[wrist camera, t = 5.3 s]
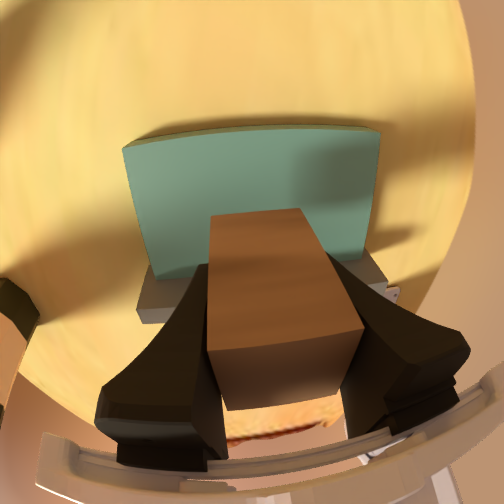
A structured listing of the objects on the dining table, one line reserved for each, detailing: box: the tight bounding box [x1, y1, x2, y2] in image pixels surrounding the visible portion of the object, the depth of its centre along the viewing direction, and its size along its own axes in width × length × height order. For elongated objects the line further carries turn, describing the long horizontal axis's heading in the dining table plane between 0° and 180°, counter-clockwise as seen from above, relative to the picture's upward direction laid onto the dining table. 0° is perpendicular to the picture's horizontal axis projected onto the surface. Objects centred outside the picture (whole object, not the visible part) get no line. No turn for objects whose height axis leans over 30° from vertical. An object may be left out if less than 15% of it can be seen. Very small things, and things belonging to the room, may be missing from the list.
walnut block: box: [207, 208, 364, 411], centre depth 10 cm, size 4×4×7 cm
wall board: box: [122, 124, 388, 324], centre depth 17 cm, size 12×18×5 cm, turn 93°
